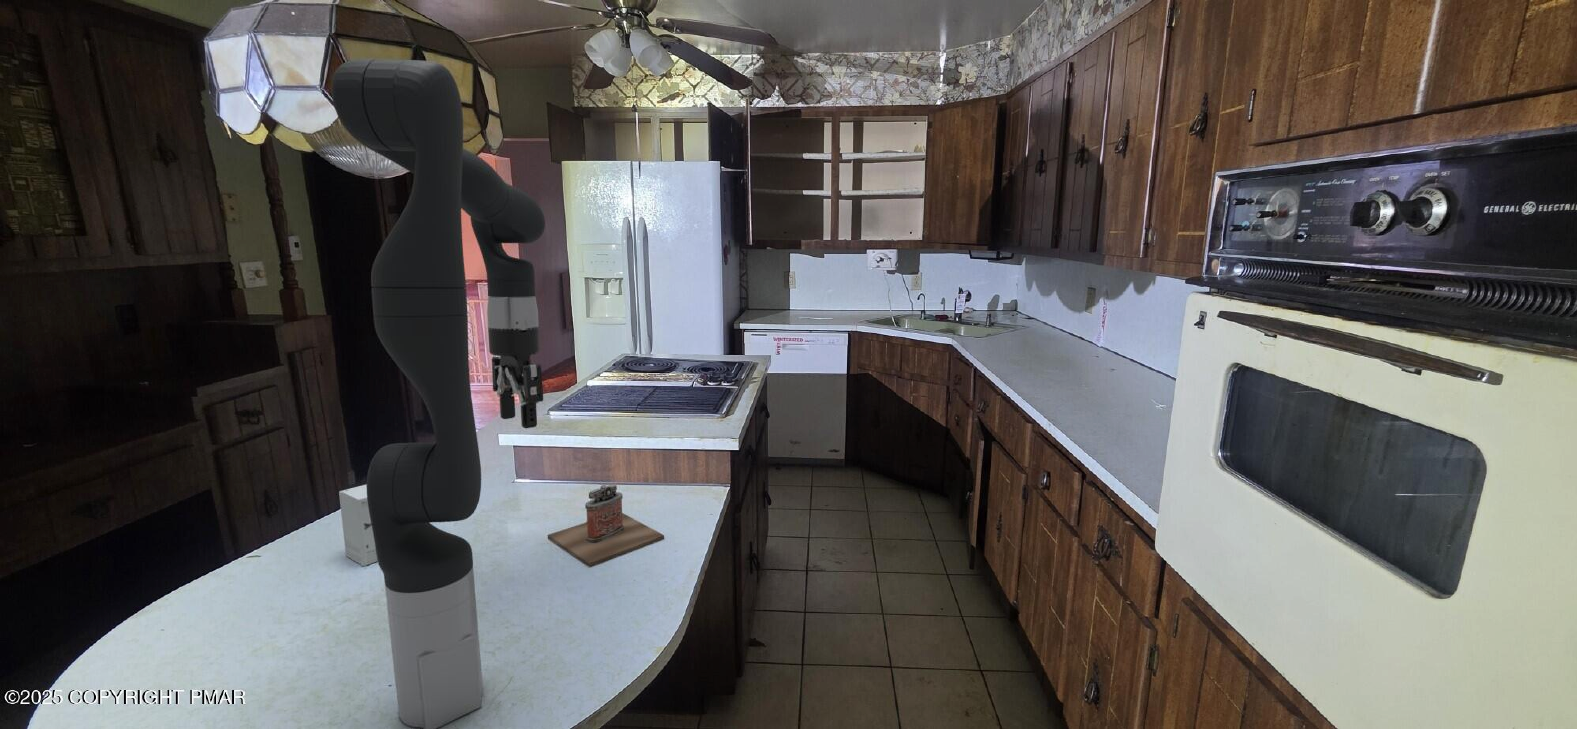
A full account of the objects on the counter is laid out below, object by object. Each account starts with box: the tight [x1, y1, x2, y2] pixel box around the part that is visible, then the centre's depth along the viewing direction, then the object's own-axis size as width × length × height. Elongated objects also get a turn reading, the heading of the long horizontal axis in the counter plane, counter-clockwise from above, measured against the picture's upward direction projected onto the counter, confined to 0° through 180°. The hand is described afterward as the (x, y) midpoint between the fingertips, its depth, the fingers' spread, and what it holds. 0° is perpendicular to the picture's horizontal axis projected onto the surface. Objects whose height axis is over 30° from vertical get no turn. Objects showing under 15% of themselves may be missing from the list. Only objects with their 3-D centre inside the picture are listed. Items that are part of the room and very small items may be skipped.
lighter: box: [584, 483, 624, 543], centre depth 122 cm, size 8×3×10 cm, turn 145°
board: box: [547, 512, 665, 568], centre depth 123 cm, size 16×16×1 cm
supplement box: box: [338, 483, 378, 567], centre depth 115 cm, size 7×7×13 cm
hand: (518, 422), depth 104 cm, fingers open, 8 cm apart
